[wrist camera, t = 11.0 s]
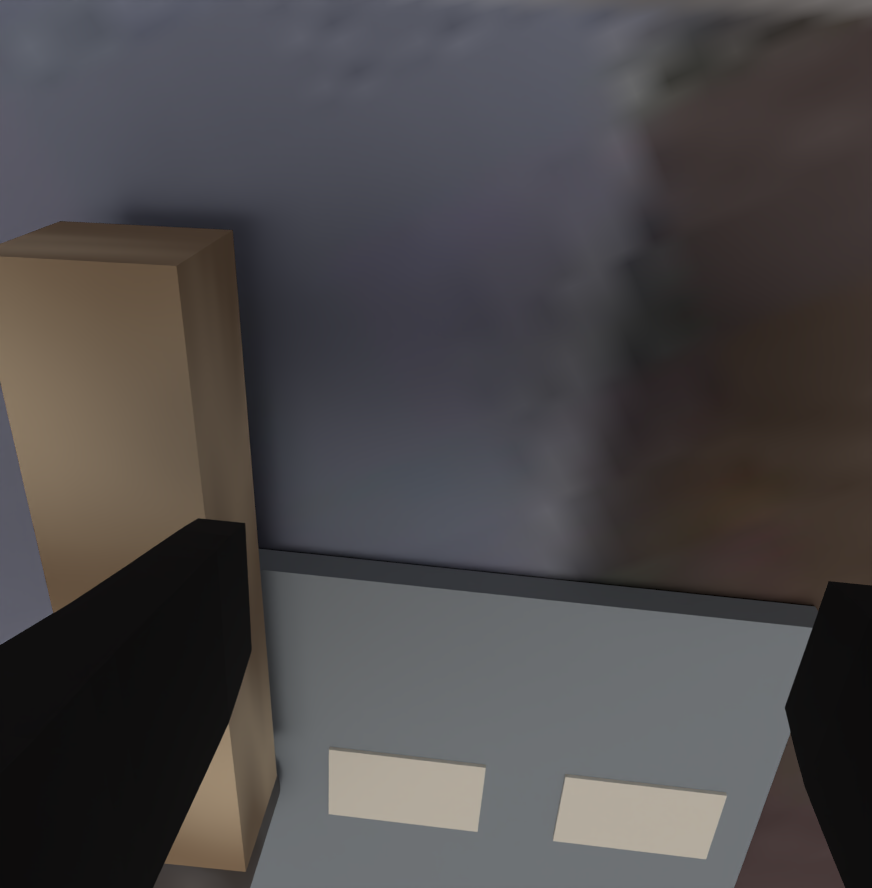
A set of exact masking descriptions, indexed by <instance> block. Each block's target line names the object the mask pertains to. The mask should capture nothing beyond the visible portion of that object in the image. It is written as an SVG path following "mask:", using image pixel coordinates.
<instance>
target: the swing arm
mask: <svg viewBox="0 0 872 888" xmlns="http://www.w3.org/2000/svg"><path fill="white" fill-rule="evenodd" d="M0 383H1V387H2V391H3V396H4V400H5V405H6V409H7V413H8V418H9V422H10V426H11V431H12V435H13V439H14V444H15V448H16V453H17V457H18V461H19V466H20V470H21V474H22V479H23V483H24V487H25V492H26V496H27V501H28V505H29V509H30V514H31V518H32V522H33V527H34V531H35V535H36V540H37V544H38V548H39V553H40V557H41V562H42V566H43V570H44V575H45V579H46V583H47V588H48V592H49V596H50V601H51V605H52V610H53V613H54V612H56V611H58V610H59V609H61V608H63V607H64V606H66V605H68V604H69V603H71V602H72V601H74V600H75V599H77V598H78V597H80V596H82V595H83V594H85V593H86V592H88V591H89V590H91V589H92V588H94V587H95V586H97V585H98V584H100V583H101V582H103V581H104V580H106V579H107V578H109V577H110V576H112V575H113V574H115V573H116V572H118V571H119V570H121V569H122V568H124V567H125V566H127V565H128V564H130V563H131V562H133V561H134V560H136V559H137V558H138V557H140V556H141V555H143V554H144V553H146V552H147V551H149V550H150V549H152V548H153V547H155V546H156V545H157V544H159V543H160V542H162V541H163V540H165V539H166V538H168V537H169V536H171V535H172V534H174V533H175V532H177V531H178V530H180V529H181V528H183V527H184V526H186V525H188V524H189V523H191V522H193V521H194V520H196V519H198V518H201V519H211V520H221V521H231V522H241V523H245V526H246V546H247V565H248V585H249V604H250V623H251V643H252V651H251V655H250V658H249V661H248V665H247V668H246V671H245V674H244V678H243V681H242V684H241V688H240V691H239V694H238V697H237V700H236V703H235V706H234V709H233V712H232V715H231V718H230V721H229V724H228V726H227V728H226V730H225V733H224V735H223V737H222V739H221V742H220V744H219V746H218V748H217V750H216V752H215V755H214V757H213V759H212V761H211V763H210V766H209V768H208V770H207V772H206V774H205V777H204V779H203V781H202V783H201V785H200V787H199V790H198V792H197V794H196V796H195V798H194V800H193V803H192V805H191V807H190V809H189V811H188V813H187V815H186V818H185V820H184V822H183V824H182V826H181V828H180V831H179V833H178V835H177V837H176V839H175V841H174V843H173V846H172V848H171V850H170V852H169V854H168V856H167V859H166V861H165V863H164V865H163V867H162V869H161V871H160V874H159V876H158V878H157V880H156V882H155V884H154V887H153V888H250V887H251V884H252V881H253V877H254V874H255V871H256V868H257V865H258V861H259V858H260V855H261V852H262V849H263V846H264V842H265V839H266V836H267V833H268V830H269V826H270V823H271V820H272V817H273V814H274V810H275V807H276V804H277V801H278V798H279V794H280V781H279V778H278V776H277V771H276V759H275V747H274V734H273V722H272V710H271V697H270V685H269V673H268V660H267V648H266V636H265V623H264V611H263V599H262V586H261V574H260V562H259V549H258V537H257V525H256V512H255V500H254V488H253V475H252V463H251V451H250V438H249V426H248V414H247V401H246V389H245V377H244V364H243V352H242V340H241V327H240V315H239V303H238V290H237V278H236V266H235V253H234V241H233V230H221V229H202V228H182V227H163V226H143V225H124V224H104V223H85V222H65V221H60V222H57V223H54V224H52V225H49V226H46V227H44V228H41V229H38V230H36V231H33V232H31V233H28V234H25V235H23V236H20V237H17V238H15V239H12V240H9V241H7V242H4V243H1V244H0Z"/></svg>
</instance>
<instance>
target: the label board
mask: <svg viewBox="0 0 872 888" xmlns="http://www.w3.org/2000/svg"><path fill="white" fill-rule="evenodd" d="M259 562H260V574H261V586H262V599H263V611H264V623H265V636H266V648H267V660H268V673H269V685H270V697H271V710H272V722H273V734H274V747H275V759H276V771H277V776H278V778H279V781H280V794H279V798H278V801H277V804H276V807H275V810H274V814H273V817H272V820H271V823H270V826H269V830H268V833H267V836H266V839H265V842H264V846H263V849H262V852H261V855H260V858H259V861H258V865H257V868H256V871H255V874H254V877H253V881H252V884H251V887H250V888H734V886H735V883H736V881H737V878H738V875H739V872H740V870H741V867H742V864H743V861H744V859H745V856H746V853H747V850H748V848H749V845H750V842H751V839H752V837H753V834H754V831H755V828H756V826H757V823H758V820H759V817H760V815H761V812H762V809H763V806H764V804H765V801H766V798H767V795H768V793H769V790H770V787H771V784H772V781H773V779H774V776H775V773H776V770H777V768H778V765H779V762H780V759H781V757H782V754H783V751H784V748H785V746H786V743H787V740H788V737H789V735H790V728H789V723H788V719H787V715H786V711H785V705H786V702H787V699H788V696H789V694H790V691H791V688H792V685H793V682H794V679H795V676H796V674H797V671H798V668H799V665H800V662H801V659H802V656H803V654H804V651H805V648H806V645H807V642H808V639H809V636H810V634H811V631H812V628H813V625H814V622H815V619H816V616H817V614H818V611H817V609H816V607H814V606H805V605H795V604H786V603H776V602H766V601H757V600H747V599H738V598H728V597H718V596H709V595H699V594H689V593H680V592H670V591H661V590H651V589H641V588H632V587H622V586H613V585H603V584H593V583H584V582H574V581H565V580H555V579H545V578H536V577H526V576H516V575H507V574H497V573H488V572H478V571H468V570H459V569H449V568H440V567H430V566H420V565H411V564H401V563H391V562H382V561H372V560H363V559H353V558H343V557H334V556H324V555H315V554H305V553H295V552H286V551H276V550H266V549H259Z"/></svg>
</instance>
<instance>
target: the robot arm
mask: <svg viewBox="0 0 872 888" xmlns="http://www.w3.org/2000/svg"><path fill="white" fill-rule="evenodd" d="M251 651H252V643H251V623H250V604H249V585H248V565H247V546H246V526H245V523H241V522H231V521H221V520H211V519H201V518H198V519H196V520H194V521H193V522H191V523H189V524H188V525H186V526H184V527H183V528H181V529H180V530H178V531H177V532H175V533H174V534H172V535H171V536H169V537H168V538H166V539H165V540H163V541H162V542H160V543H159V544H157V545H156V546H155V547H153V548H152V549H150V550H149V551H147V552H146V553H144V554H143V555H141V556H140V557H138V558H137V559H136V560H134V561H133V562H131V563H130V564H128V565H127V566H125V567H124V568H122V569H121V570H119V571H118V572H116V573H115V574H113V575H112V576H110V577H109V578H107V579H106V580H104V581H103V582H101V583H100V584H98V585H97V586H95V587H94V588H92V589H91V590H89V591H88V592H86V593H85V594H83V595H82V596H80V597H78V598H77V599H75V600H74V601H72V602H71V603H69V604H68V605H66V606H64V607H63V608H61V609H59V610H58V611H56V612H54V613H53V614H51V615H49V616H48V617H46V618H44V619H43V620H41V621H39V622H38V623H36V624H35V625H33V626H31V627H30V628H28V629H26V630H25V631H23V632H21V633H20V634H18V635H16V636H15V637H13V638H11V639H10V640H8V641H6V642H5V643H3V644H1V645H0V888H153V887H154V884H155V882H156V880H157V878H158V876H159V874H160V871H161V869H162V867H163V865H164V863H165V861H166V859H167V856H168V854H169V852H170V850H171V848H172V846H173V843H174V841H175V839H176V837H177V835H178V833H179V831H180V828H181V826H182V824H183V822H184V820H185V818H186V815H187V813H188V811H189V809H190V807H191V805H192V803H193V800H194V798H195V796H196V794H197V792H198V790H199V787H200V785H201V783H202V781H203V779H204V777H205V774H206V772H207V770H208V768H209V766H210V763H211V761H212V759H213V757H214V755H215V752H216V750H217V748H218V746H219V744H220V742H221V739H222V737H223V735H224V733H225V730H226V728H227V726H228V724H229V721H230V718H231V715H232V712H233V709H234V706H235V703H236V700H237V697H238V694H239V691H240V688H241V684H242V681H243V678H244V674H245V671H246V668H247V665H248V661H249V658H250V655H251ZM785 711H786V715H787V719H788V723H789V728H790V732H791V736H792V740H793V744H794V749H795V752H796V756H797V760H798V763H799V767H800V771H801V774H802V778H803V782H804V785H805V788H806V791H807V793H808V796H809V798H810V801H811V804H812V806H813V809H814V811H815V814H816V816H817V819H818V821H819V824H820V826H821V829H822V831H823V834H824V836H825V839H826V841H827V844H828V846H829V849H830V851H831V854H832V856H833V859H834V861H835V864H836V866H837V869H838V871H839V873H840V876H841V878H842V881H843V883H844V886H845V888H872V586H870V585H860V584H850V583H840V582H830V581H829V582H828V585H827V588H826V591H825V594H824V597H823V599H822V602H821V605H820V608H819V611H818V614H817V616H816V619H815V622H814V625H813V628H812V631H811V634H810V636H809V639H808V642H807V645H806V648H805V651H804V654H803V656H802V659H801V662H800V665H799V668H798V671H797V674H796V676H795V679H794V682H793V685H792V688H791V691H790V694H789V696H788V699H787V702H786V705H785Z"/></svg>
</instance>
